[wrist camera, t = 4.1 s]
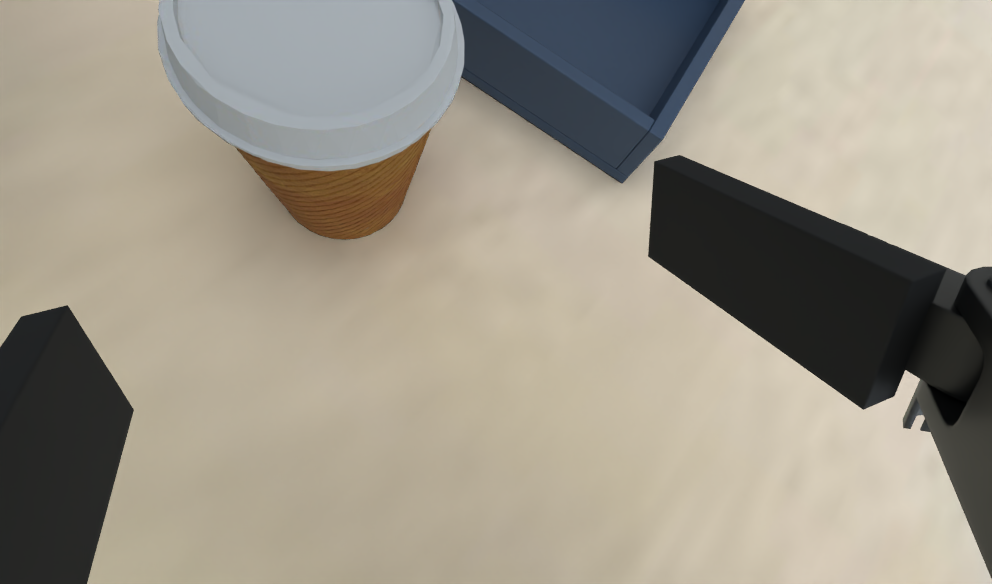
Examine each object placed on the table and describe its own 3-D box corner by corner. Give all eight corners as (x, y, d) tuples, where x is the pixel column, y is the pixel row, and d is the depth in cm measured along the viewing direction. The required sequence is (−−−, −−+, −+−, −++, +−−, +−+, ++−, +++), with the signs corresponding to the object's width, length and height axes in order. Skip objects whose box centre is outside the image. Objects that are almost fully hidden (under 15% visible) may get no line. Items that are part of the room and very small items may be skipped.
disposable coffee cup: (205, 158, 27) (70, -51, 15) (366, 72, 30) (353, -156, 18) (319, 308, 26) (265, 206, 14) (473, 205, 29) (529, 52, 17)
